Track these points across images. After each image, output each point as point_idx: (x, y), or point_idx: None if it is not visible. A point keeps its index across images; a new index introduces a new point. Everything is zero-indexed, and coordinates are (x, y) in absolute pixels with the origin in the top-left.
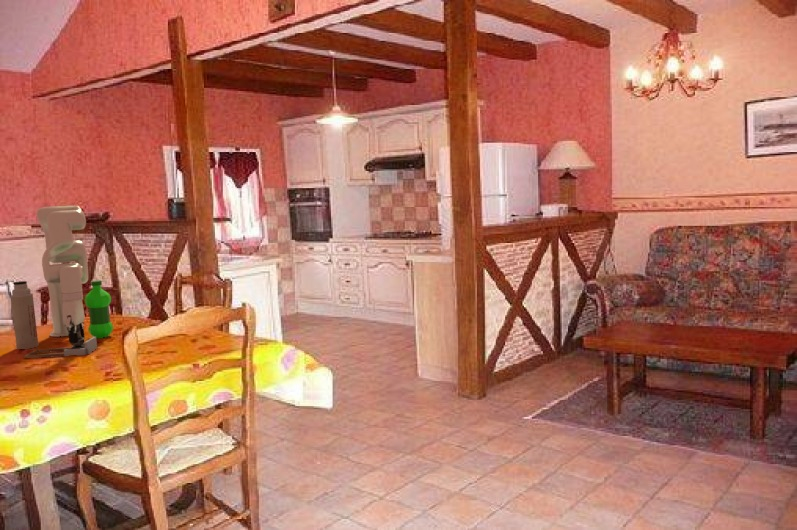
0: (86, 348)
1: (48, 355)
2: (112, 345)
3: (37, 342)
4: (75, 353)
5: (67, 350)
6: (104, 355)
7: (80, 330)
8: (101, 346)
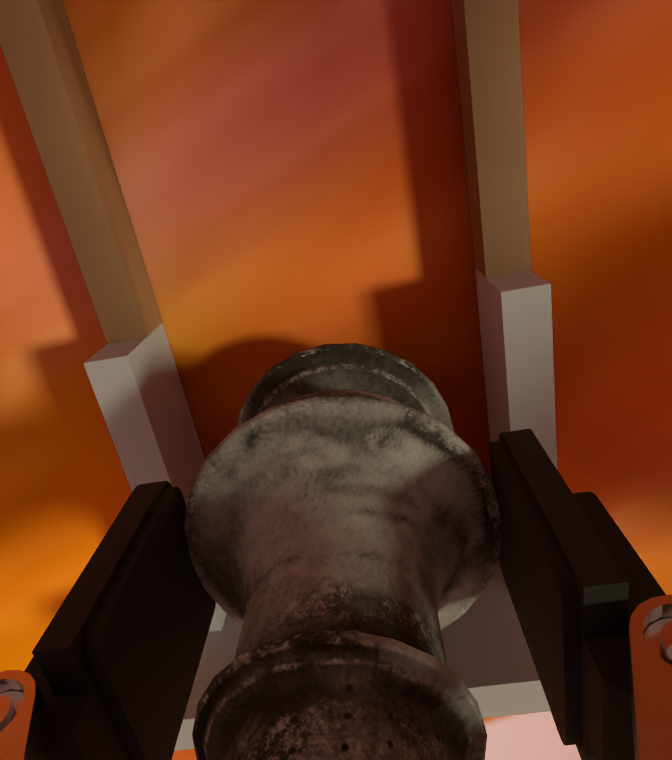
0: None
1: (19, 71)
2: None
3: None
4: None
5: (108, 415)
6: (189, 750)
7: (560, 688)
8: (656, 547)
